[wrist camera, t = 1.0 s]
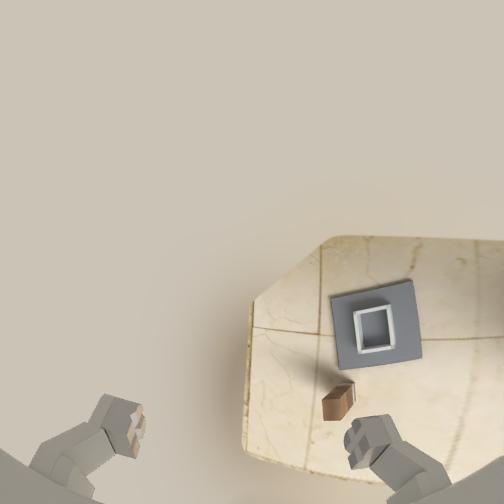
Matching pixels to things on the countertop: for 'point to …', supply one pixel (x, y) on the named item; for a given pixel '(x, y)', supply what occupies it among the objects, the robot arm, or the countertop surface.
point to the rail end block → (338, 401)
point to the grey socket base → (377, 327)
